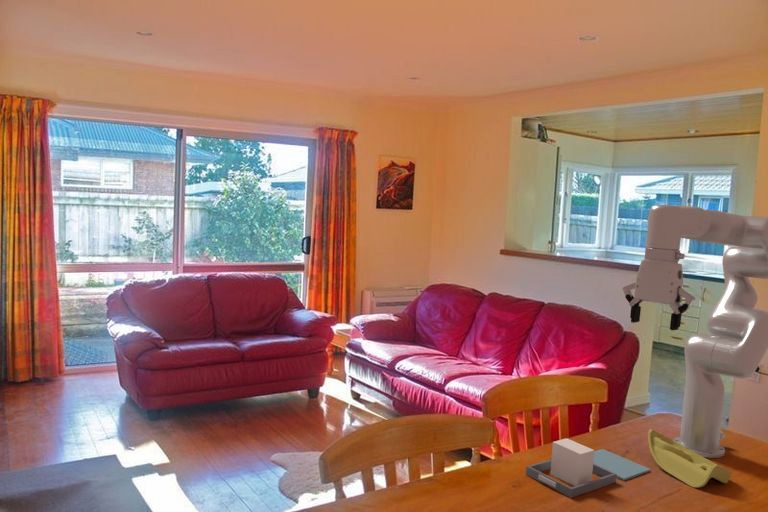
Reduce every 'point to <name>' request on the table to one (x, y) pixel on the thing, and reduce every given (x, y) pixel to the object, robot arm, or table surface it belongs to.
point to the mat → (618, 465)
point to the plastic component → (684, 462)
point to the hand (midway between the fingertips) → (654, 325)
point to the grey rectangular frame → (535, 473)
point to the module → (572, 462)
